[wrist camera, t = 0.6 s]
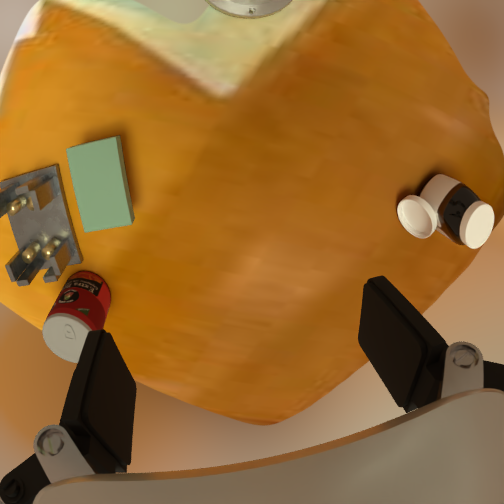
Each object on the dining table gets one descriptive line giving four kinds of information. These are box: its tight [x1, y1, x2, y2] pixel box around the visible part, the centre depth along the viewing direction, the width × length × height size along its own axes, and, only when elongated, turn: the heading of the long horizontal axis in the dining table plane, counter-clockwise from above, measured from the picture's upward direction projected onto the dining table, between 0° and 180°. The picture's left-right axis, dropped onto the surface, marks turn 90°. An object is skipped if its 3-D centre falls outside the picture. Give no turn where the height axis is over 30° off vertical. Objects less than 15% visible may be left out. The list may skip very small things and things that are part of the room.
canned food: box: [42, 271, 111, 363], centre depth 38 cm, size 8×8×11 cm
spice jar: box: [397, 174, 494, 249], centre depth 40 cm, size 12×11×12 cm
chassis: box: [0, 164, 83, 286], centre depth 33 cm, size 14×10×6 cm
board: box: [66, 135, 135, 232], centre depth 32 cm, size 10×6×2 cm, turn 3°
